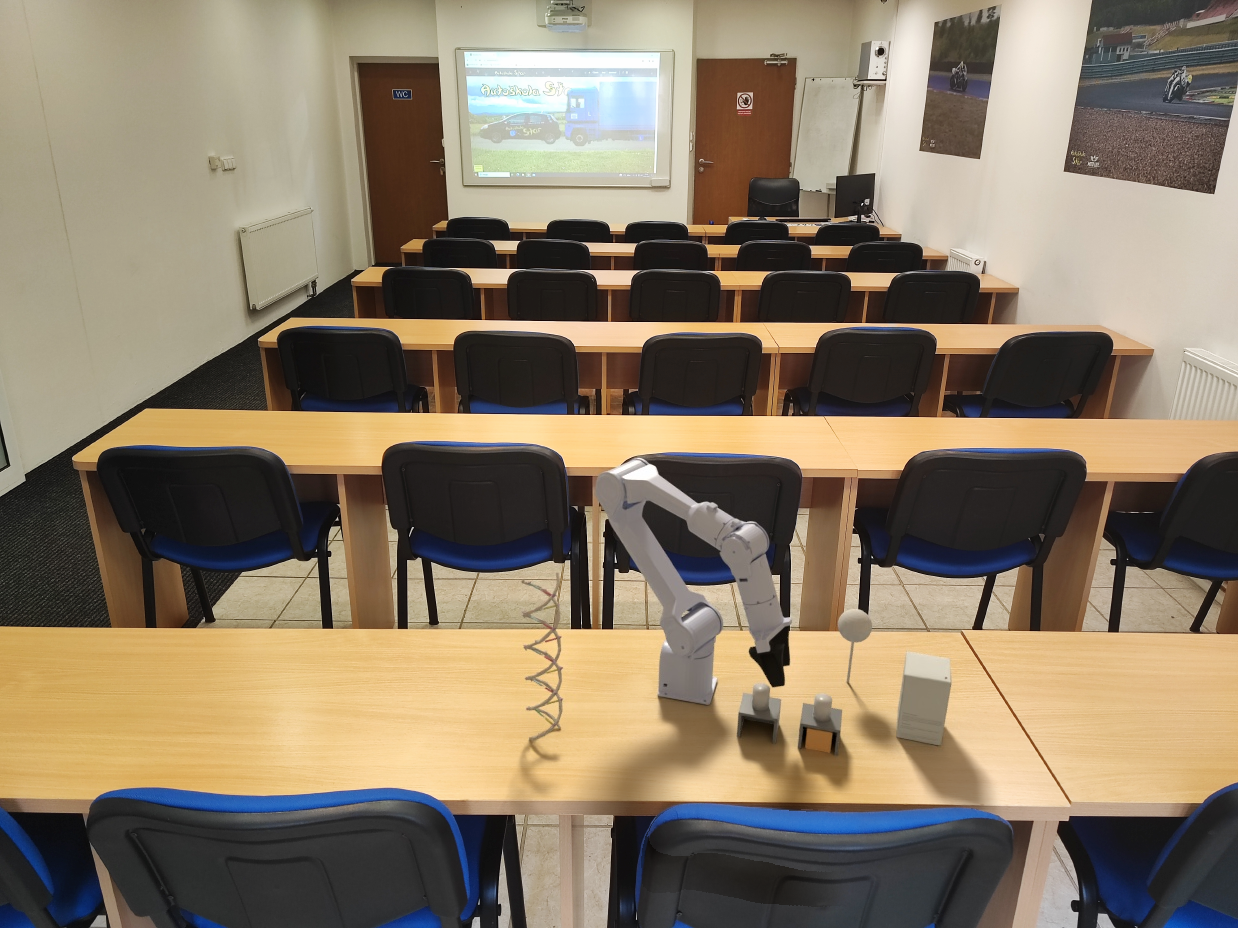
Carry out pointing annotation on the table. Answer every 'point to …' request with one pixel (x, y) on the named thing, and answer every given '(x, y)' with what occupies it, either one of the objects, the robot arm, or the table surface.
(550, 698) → the dna model
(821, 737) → the cube
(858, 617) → the lollipop
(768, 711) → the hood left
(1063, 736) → the table surface
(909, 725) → the supplement box
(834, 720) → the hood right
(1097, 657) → the table surface
